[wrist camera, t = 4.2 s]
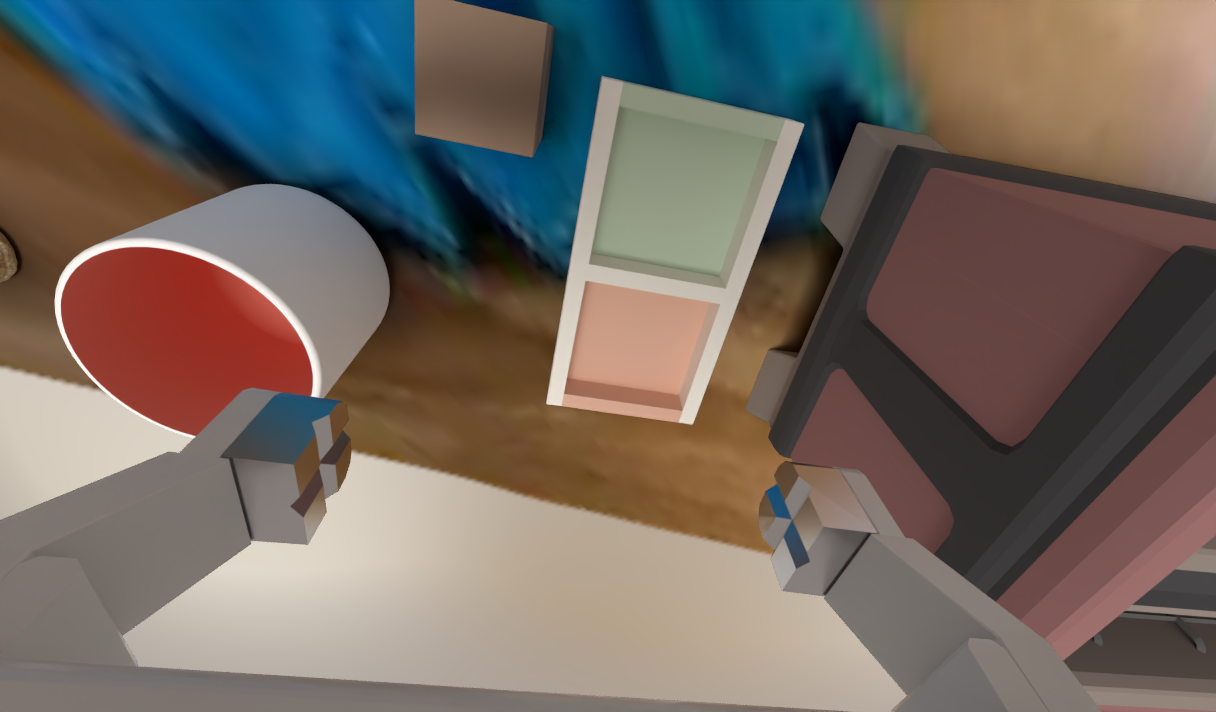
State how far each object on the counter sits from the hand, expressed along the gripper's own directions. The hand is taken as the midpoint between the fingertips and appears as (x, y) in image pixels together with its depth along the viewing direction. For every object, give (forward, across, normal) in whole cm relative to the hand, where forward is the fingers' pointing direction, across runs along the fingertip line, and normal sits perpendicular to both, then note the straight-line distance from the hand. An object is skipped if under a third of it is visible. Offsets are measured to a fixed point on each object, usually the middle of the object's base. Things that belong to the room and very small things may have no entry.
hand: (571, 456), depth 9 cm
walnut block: (+21, +5, -4) cm, 22 cm away
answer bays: (+21, -5, +4) cm, 22 cm away
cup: (+21, +15, +8) cm, 27 cm away
